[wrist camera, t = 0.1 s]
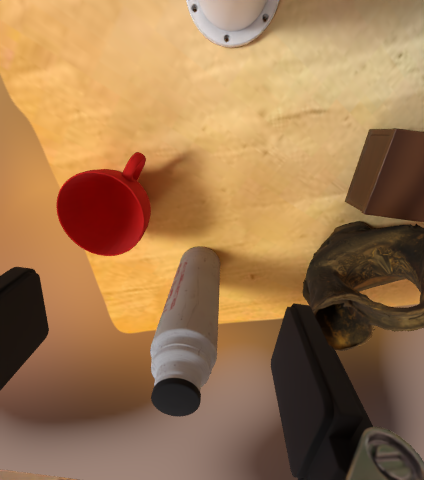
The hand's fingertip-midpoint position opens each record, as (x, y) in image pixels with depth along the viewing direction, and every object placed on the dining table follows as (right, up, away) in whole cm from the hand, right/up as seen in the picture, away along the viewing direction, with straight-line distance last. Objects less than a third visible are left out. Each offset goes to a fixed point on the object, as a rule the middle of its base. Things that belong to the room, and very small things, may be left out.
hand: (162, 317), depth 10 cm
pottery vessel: (+27, +1, +38) cm, 47 cm away
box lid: (+31, +11, +26) cm, 42 cm away
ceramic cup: (-13, +12, +36) cm, 40 cm away
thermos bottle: (0, -2, +41) cm, 41 cm away
